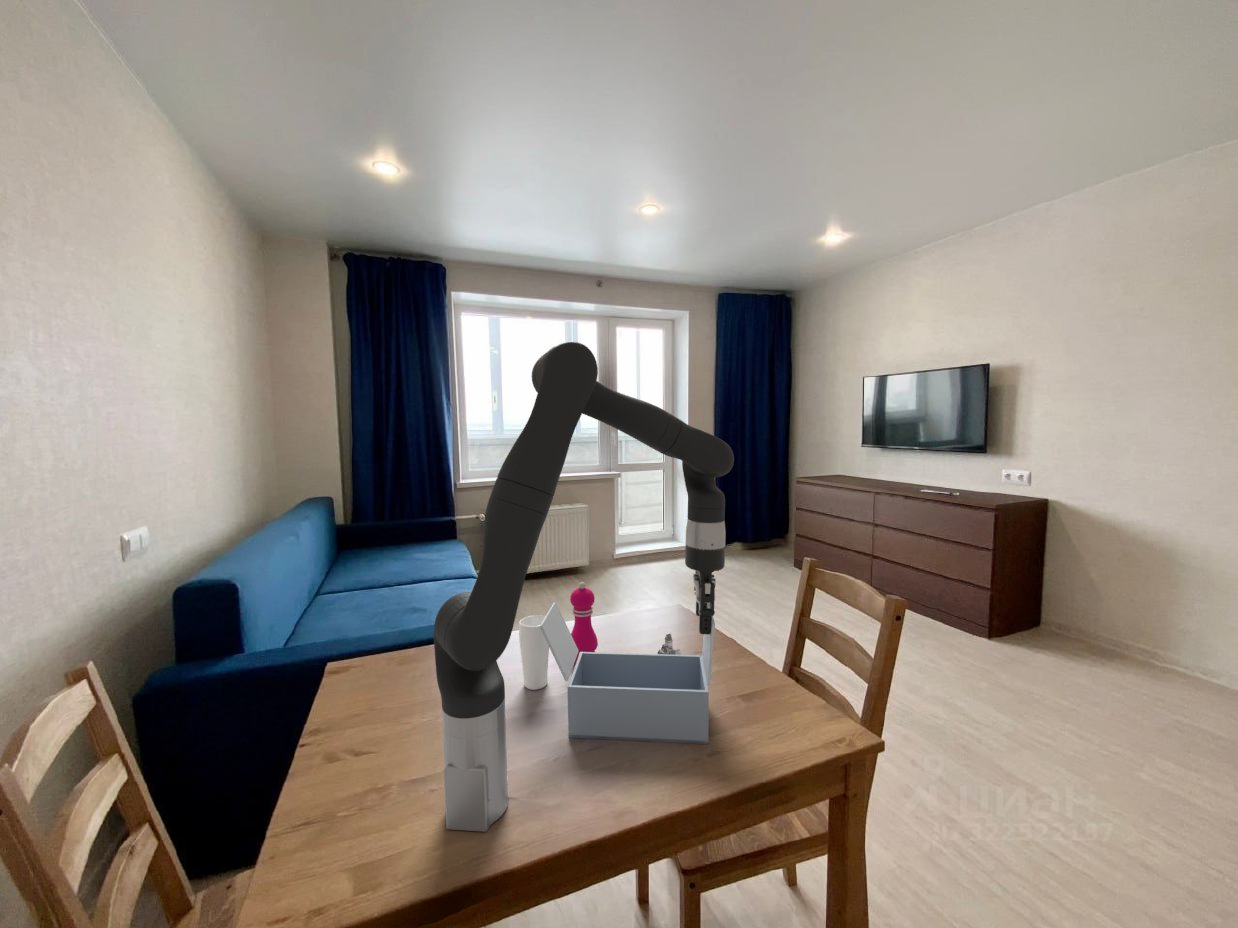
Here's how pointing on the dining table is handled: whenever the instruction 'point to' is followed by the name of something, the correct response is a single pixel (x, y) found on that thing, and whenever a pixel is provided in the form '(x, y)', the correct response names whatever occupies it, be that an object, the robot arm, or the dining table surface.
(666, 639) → the house of cards
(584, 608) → the pepper mill
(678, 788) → the dining table surface
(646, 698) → the carton
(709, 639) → the flap right
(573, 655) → the flap left
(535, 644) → the drinking glass
